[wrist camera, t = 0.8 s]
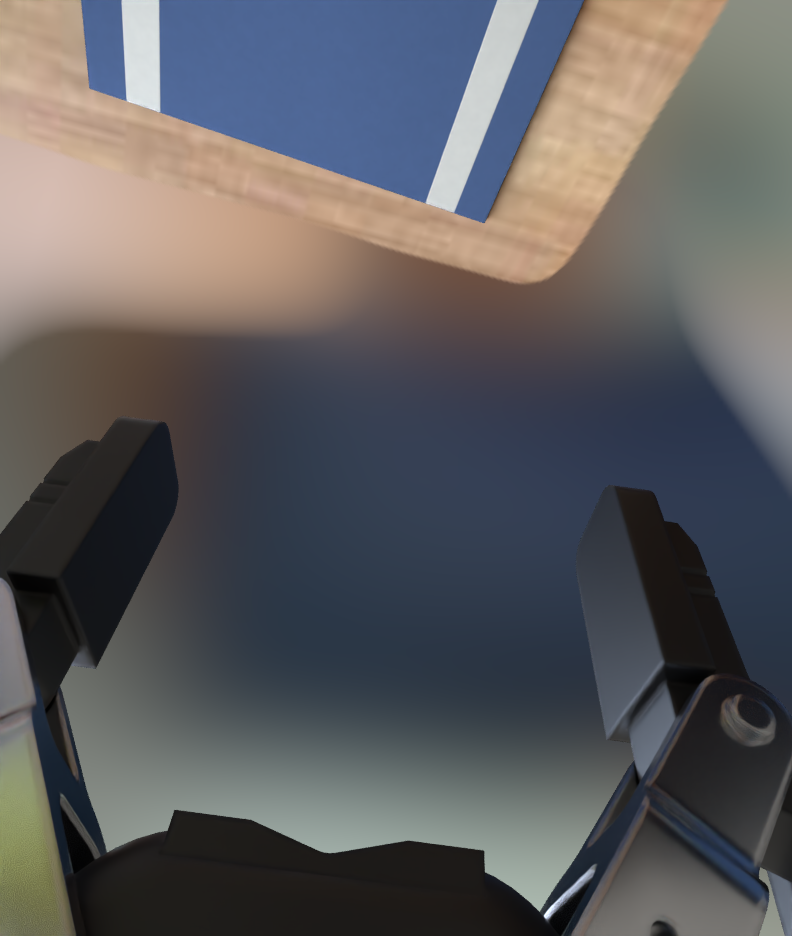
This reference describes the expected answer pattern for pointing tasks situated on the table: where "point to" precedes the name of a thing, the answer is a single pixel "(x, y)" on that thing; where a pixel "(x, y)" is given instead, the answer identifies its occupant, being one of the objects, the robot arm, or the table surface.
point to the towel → (345, 81)
